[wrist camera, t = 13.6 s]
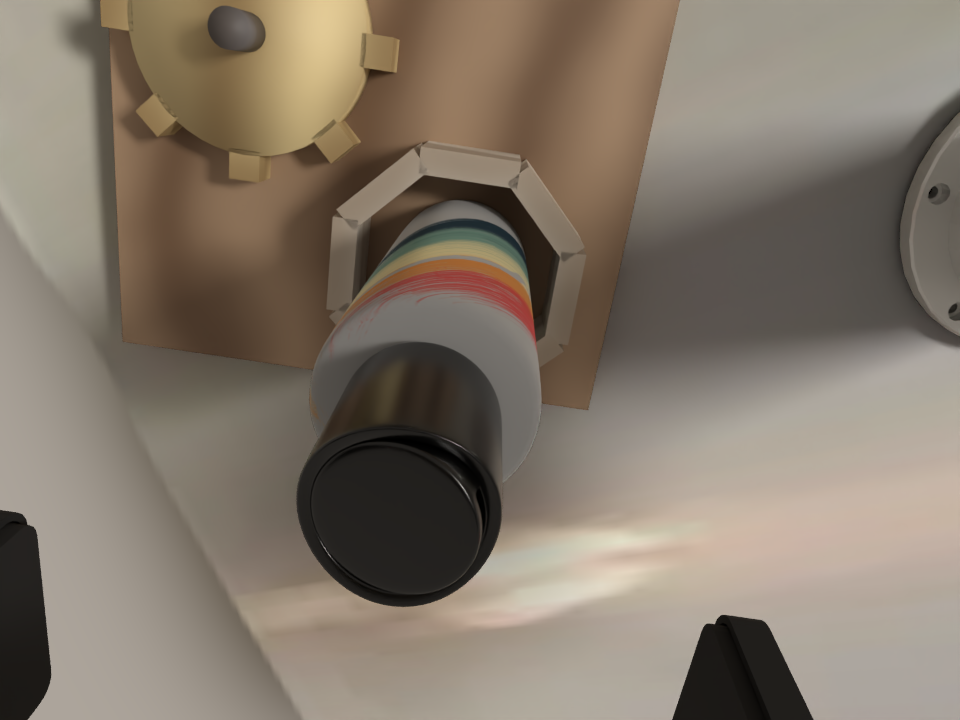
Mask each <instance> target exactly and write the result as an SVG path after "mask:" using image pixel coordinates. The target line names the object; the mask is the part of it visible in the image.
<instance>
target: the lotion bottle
mask: <svg viewBox="0 0 960 720" xmlns="http://www.w3.org/2000/svg"><path fill="white" fill-rule="evenodd" d="M309 402H310V412H311V418H312V422H313V425H314V429H315V432H316V434H317V437H318V440H317V442H316V444H315V446H314V448H313V450H312V452H311V453H310V455H309V457H308V459H307V461H306V463H305V465H304V467H303V470H302V472H301V475H300V478H299V482H298V487H297V512H298V517H299V522H300V525H301V529H302V531H303V534H304V537H305V539H306V541H307V543H308V545H309V547H310V549H311V551H312V552H313V554H314V556H315V557H316V558H317V560H318V561H319V563H320V564H321V565H322V566H323V568H324V569H325V570H326V571H327V572H328V573H329V574H330V575H331V576H332V577H333V578H334V579H335V580H336V581H337V582H338V583H340V584H341V585H342V586H344V587H345V588H346V589H348V590H349V591H351V592H353V593H354V594H356V595H358V596H360V597H362V598H364V599H367V600H369V601H372V602H375V603H379V604H382V605H388V606H397V607H410V606H418V605H424V604H428V603H431V602H434V601H437V600H440V599H442V598H444V597H446V596H448V595H450V594H452V593H453V592H455V591H456V590H458V589H459V588H461V587H462V586H463V585H465V584H466V583H467V582H468V581H469V580H470V579H471V578H473V576H474V575H475V574H476V573H477V572H478V571H479V570H480V569H481V567H482V566H483V565H484V563H485V562H486V560H487V559H488V557H489V555H490V554H491V552H492V550H493V548H494V546H495V543H496V540H497V538H498V535H499V531H500V527H501V521H502V509H503V483H504V482H505V481H506V480H507V479H508V478H509V477H510V476H511V475H512V474H513V473H514V472H515V471H516V470H517V469H518V468H519V466H520V465H521V464H522V463H523V461H524V460H525V458H526V457H527V455H528V453H529V451H530V449H531V447H532V445H533V442H534V440H535V437H536V434H537V430H538V427H539V423H540V417H541V404H542V403H541V383H540V372H539V363H538V354H537V346H536V338H535V329H534V321H533V313H532V304H531V296H530V288H529V279H528V271H527V264H526V258H525V253H524V249H523V246H522V243H521V241H520V238H519V236H518V234H517V233H516V231H515V229H514V228H513V227H512V225H511V224H510V223H509V222H508V221H507V220H506V218H504V217H503V216H502V215H501V214H500V213H498V212H497V211H496V210H494V209H492V208H490V207H489V206H486V205H484V204H481V203H478V202H474V201H469V200H450V201H444V202H441V203H438V204H435V205H433V206H431V207H429V208H427V209H425V210H424V211H422V212H421V213H419V214H418V215H417V216H416V217H415V218H414V219H413V220H412V221H411V222H410V223H409V224H408V225H407V226H406V228H405V229H404V230H403V231H402V233H401V234H400V235H399V237H398V238H397V240H396V241H395V242H394V244H393V245H392V247H391V248H390V250H389V251H388V252H387V254H386V255H385V257H384V258H383V259H382V261H381V262H380V264H379V265H378V267H377V268H376V269H375V271H374V272H373V274H372V275H371V276H370V278H369V279H368V281H367V282H366V283H365V285H364V286H363V288H362V289H361V291H360V292H359V293H358V295H357V296H356V298H355V299H354V300H353V302H352V303H351V305H350V306H349V307H348V309H347V310H346V312H345V313H344V315H343V316H342V318H341V319H340V320H339V322H338V323H337V325H336V326H335V328H334V329H333V331H332V333H331V334H330V336H329V337H328V339H327V340H326V342H325V344H324V345H323V347H322V349H321V351H320V353H319V355H318V358H317V360H316V363H315V366H314V369H313V373H312V378H311V384H310V396H309Z"/></svg>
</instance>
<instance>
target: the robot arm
mask: <svg viewBox="0 0 960 720" xmlns="http://www.w3.org/2000/svg"><path fill="white" fill-rule="evenodd" d="M931 188H932V192H931V194H930V195H929V196H928V194H929V191H930V190H931ZM900 253H901V259H902V264H903V269H904V274H905V277H906V279H907V281H908V283H909V286H910V288H911V290H912V293H913V295H914V297H915V298H916V299H917V301H918V302H919V303H920V305H921V306H922V307H923V308H924V310H925V311H926V312H927V314H928V315H929V316H931V317H932V318H933V319H934V320H936V321H937V322H938V323H939V324H940V325H942V326H943V327H944V328H945V329H947V330H949V331H951V332H952V333H954V334H956V335H958V336H960V112H959V113H958V114H957V115H956V116H955V117H954V118H953V120H952V121H951V122H950V123H949V124H948V125H947V127H946V128H945V129H944V130H943V131H942V132H941V134H940V135H939V136H938V137H937V138H936V139H935V141H934V142H933V144H932V146H931V147H930V149H929V150H928V152H927V154H926V155H925V157H924V159H923V160H922V162H921V163H920V165H919V167H918V169H917V171H916V174H915V176H914V178H913V181H912V183H911V186H910V188H909V191H908V193H907V196H906V200H905V205H904V209H903V214H902V218H901V223H900ZM50 679H51V665H50V655H49V645H48V636H47V627H46V616H45V607H44V597H43V587H42V578H41V568H40V558H39V548H38V539H37V533H36V530H35V529H34V527H32V526H29V525H27V521H26V519H25V517H24V516H23V515H22V514H20V513H16V512H9V511H2V510H0V720H28V718H29V717H30V716H31V715H32V713H33V712H34V711H35V709H36V708H37V707H38V705H39V704H40V703H41V701H42V699H43V698H44V696H45V694H46V692H47V690H48V687H49V684H50ZM672 720H813V718H812V716H811V714H810V712H809V709H808V707H807V705H806V703H805V701H804V699H803V697H802V695H801V693H800V691H799V689H798V687H797V684H796V682H795V680H794V678H793V676H792V674H791V672H790V670H789V668H788V666H787V664H786V662H785V660H784V657H783V655H782V653H781V651H780V649H779V647H778V645H777V643H776V641H775V639H774V637H773V635H772V632H771V630H770V628H769V627H768V625H767V624H766V623H765V622H764V621H762V620H756V619H749V618H743V617H736V616H729V615H721V616H720V617H719V618H718V619H717V621H716V623H715V624H706V625H705V626H704V627H703V630H702V632H701V635H700V638H699V641H698V644H697V647H696V650H695V653H694V656H693V659H692V662H691V665H690V668H689V671H688V674H687V677H686V680H685V683H684V686H683V689H682V692H681V695H680V698H679V701H678V704H677V707H676V710H675V713H674V716H673V719H672Z"/></svg>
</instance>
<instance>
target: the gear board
mask: <svg viewBox="0 0 960 720" xmlns="http://www.w3.org/2000/svg"><path fill="white" fill-rule="evenodd" d="M679 2H680V0H100V10H101V27H108V28H109V40H110V63H111V86H112V109H113V132H114V155H115V178H116V200H117V223H118V246H119V269H120V292H121V315H122V338H123V342H128V343H135V344H142V345H149V346H156V347H162V348H169V349H176V350H183V351H190V352H196V353H203V354H210V355H217V356H223V357H230V358H237V359H244V360H251V361H257V362H264V363H271V364H278V365H285V366H291V367H298V368H305V369H312V370H313V369H314V366H315V363H316V360H317V358H318V355H319V353H320V351H321V349H322V347H323V345H324V344H325V342H326V340H327V339H328V337H329V336H330V334H331V333H332V331H333V329H334V328H335V326H336V325H337V323H338V322H339V320H340V319H341V318H342V316H343V315H344V313H345V312H346V310H347V309H348V307H349V306H350V305H351V303H352V302H353V300H354V299H355V298H356V296H357V295H358V293H359V292H360V291H361V289H362V288H363V286H364V285H365V283H366V282H367V281H368V279H369V278H370V276H371V275H372V274H373V272H374V271H375V269H376V268H377V267H378V265H379V264H380V262H381V261H382V259H383V258H384V257H385V255H386V254H387V252H388V251H389V250H390V248H391V247H392V245H393V244H394V242H395V241H396V240H397V238H398V237H399V235H400V234H401V233H402V231H403V230H404V229H405V228H406V226H407V225H408V224H409V223H410V222H411V221H412V220H413V219H414V218H415V217H416V216H417V215H418V214H419V213H421V212H422V211H424V210H425V209H427V208H429V207H431V206H433V205H435V204H438V203H441V202H444V201H450V200H469V201H474V202H478V203H481V204H484V205H486V206H489V207H490V208H492V209H494V210H496V211H497V212H498V213H500V214H501V215H502V216H503V217H504V218H506V220H507V221H508V222H509V223H510V224H511V225H512V227H513V228H514V229H515V231H516V233H517V234H518V236H519V238H520V241H521V243H522V246H523V249H524V253H525V258H526V264H527V271H528V279H529V288H530V296H531V304H532V313H533V321H534V329H535V338H536V346H537V354H538V363H539V372H540V383H541V403H543V404H549V405H556V406H563V407H570V408H576V409H583V410H588V408H589V403H590V399H591V394H592V390H593V386H594V381H595V377H596V372H597V368H598V363H599V359H600V354H601V350H602V345H603V341H604V337H605V332H606V328H607V323H608V319H609V314H610V310H611V305H612V301H613V296H614V292H615V287H616V283H617V279H618V274H619V270H620V265H621V261H622V256H623V252H624V247H625V243H626V238H627V234H628V229H629V225H630V221H631V216H632V212H633V207H634V203H635V198H636V194H637V189H638V185H639V180H640V176H641V171H642V167H643V163H644V158H645V154H646V149H647V145H648V140H649V136H650V131H651V127H652V122H653V118H654V113H655V109H656V105H657V100H658V96H659V91H660V87H661V82H662V78H663V73H664V69H665V64H666V60H667V56H668V51H669V47H670V42H671V38H672V33H673V29H674V24H675V20H676V15H677V11H678V6H679Z"/></svg>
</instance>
